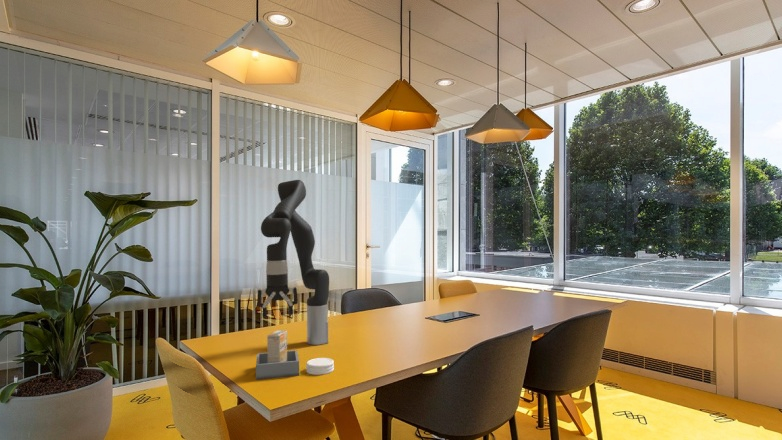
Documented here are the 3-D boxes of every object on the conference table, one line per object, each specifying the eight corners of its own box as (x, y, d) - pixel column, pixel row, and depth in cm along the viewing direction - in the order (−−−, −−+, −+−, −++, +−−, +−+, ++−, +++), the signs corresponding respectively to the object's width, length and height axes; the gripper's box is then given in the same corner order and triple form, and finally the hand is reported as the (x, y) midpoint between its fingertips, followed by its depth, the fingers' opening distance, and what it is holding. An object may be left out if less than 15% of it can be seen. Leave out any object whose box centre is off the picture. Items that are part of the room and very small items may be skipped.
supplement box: (280, 372, 154) (279, 335, 154) (267, 372, 155) (266, 335, 155) (287, 365, 162) (287, 330, 163) (275, 365, 163) (275, 330, 163)
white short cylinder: (309, 377, 152) (309, 367, 152) (303, 369, 161) (303, 359, 161) (337, 373, 156) (337, 363, 156) (329, 365, 165) (329, 356, 165)
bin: (296, 363, 167) (296, 350, 167) (299, 375, 153) (299, 361, 153) (257, 366, 163) (257, 353, 164) (255, 379, 149) (255, 365, 149)
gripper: (296, 270, 164) (297, 313, 164) (257, 272, 160) (257, 316, 160) (297, 272, 157) (298, 317, 157) (256, 274, 153) (257, 320, 153)
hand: (277, 317), depth 159 cm, fingers open, 8 cm apart
